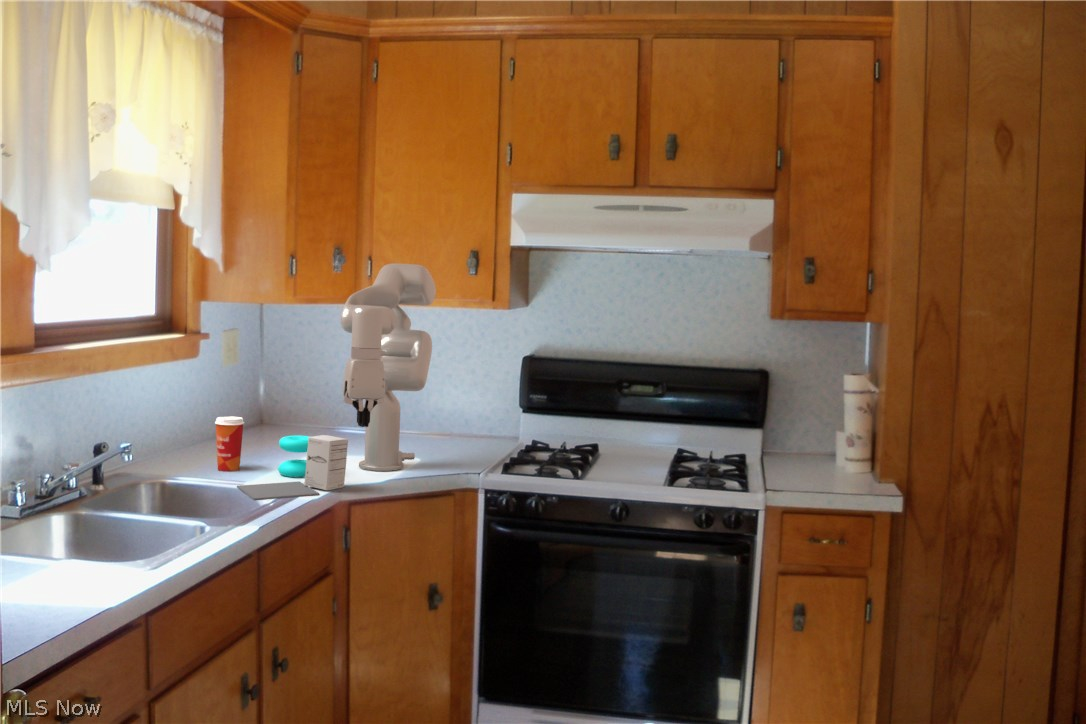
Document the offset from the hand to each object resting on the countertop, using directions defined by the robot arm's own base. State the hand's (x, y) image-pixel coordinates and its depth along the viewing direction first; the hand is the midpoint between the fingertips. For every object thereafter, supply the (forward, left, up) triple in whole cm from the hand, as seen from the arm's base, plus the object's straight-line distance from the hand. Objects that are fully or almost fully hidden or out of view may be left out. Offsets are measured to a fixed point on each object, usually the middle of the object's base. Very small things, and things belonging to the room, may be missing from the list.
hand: (363, 426), depth 254 cm
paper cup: (+26, -30, -16) cm, 43 cm away
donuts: (+11, -18, -16) cm, 26 cm away
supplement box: (+10, 0, -16) cm, 18 cm away
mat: (+22, 0, -16) cm, 27 cm away
